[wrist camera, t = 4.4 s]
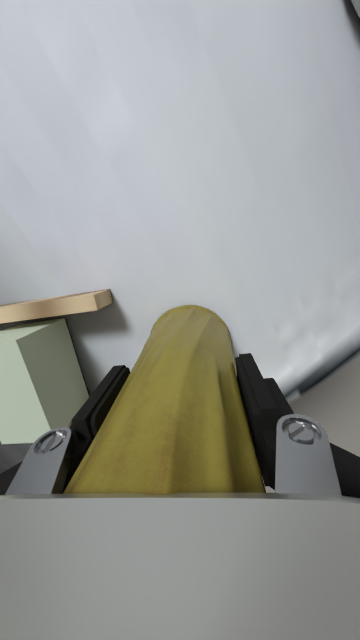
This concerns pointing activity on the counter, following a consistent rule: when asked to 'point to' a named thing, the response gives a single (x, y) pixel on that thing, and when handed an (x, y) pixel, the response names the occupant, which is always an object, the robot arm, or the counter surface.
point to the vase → (176, 418)
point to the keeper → (38, 380)
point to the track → (55, 307)
